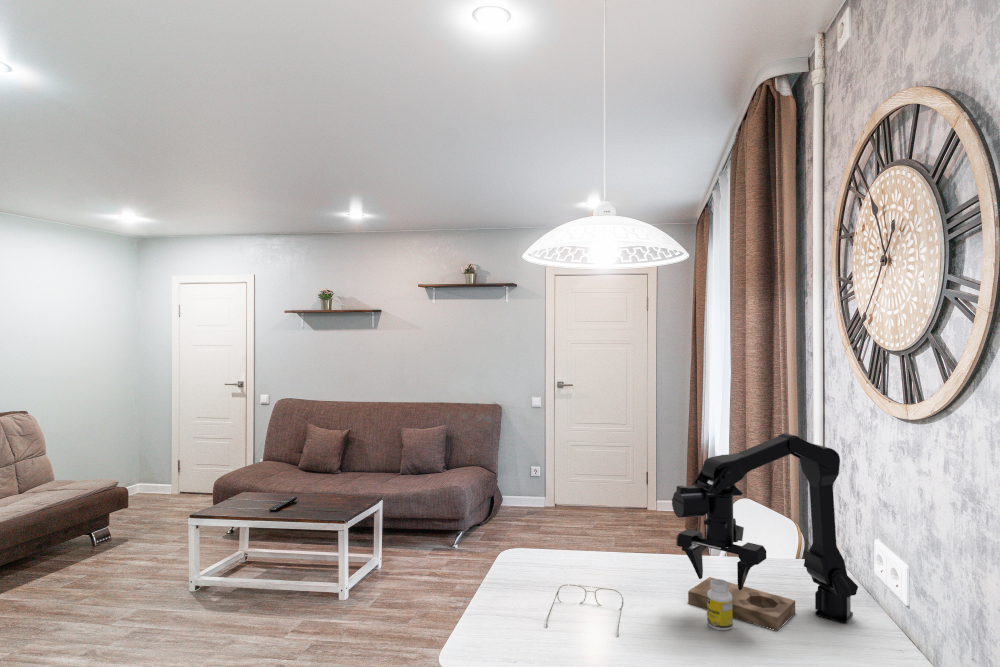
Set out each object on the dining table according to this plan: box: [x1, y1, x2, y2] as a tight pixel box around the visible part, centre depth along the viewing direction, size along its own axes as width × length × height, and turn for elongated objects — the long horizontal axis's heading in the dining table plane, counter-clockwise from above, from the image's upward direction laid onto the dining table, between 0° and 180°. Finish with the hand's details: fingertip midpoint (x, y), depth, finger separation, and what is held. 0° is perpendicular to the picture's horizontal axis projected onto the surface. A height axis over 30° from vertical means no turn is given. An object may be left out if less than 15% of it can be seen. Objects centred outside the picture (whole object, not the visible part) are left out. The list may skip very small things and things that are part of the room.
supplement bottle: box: [706, 578, 734, 631], centre depth 140 cm, size 5×5×10 cm
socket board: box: [687, 576, 796, 631], centre depth 149 cm, size 21×12×3 cm, turn 47°
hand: (720, 583), depth 140 cm, fingers open, 9 cm apart
